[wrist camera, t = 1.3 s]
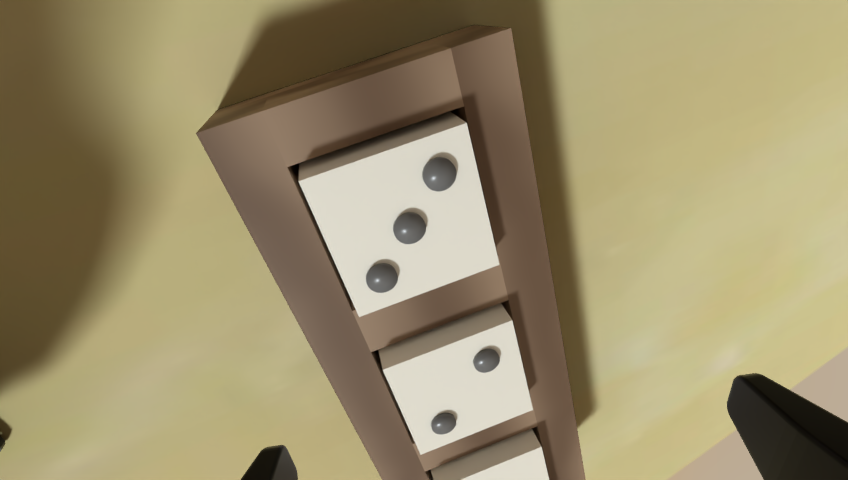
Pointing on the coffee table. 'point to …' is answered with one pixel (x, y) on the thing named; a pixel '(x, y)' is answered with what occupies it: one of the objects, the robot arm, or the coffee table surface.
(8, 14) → the coffee table surface
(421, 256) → the three dot tile
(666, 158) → the coffee table surface
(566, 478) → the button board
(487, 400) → the two dot tile
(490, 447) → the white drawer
